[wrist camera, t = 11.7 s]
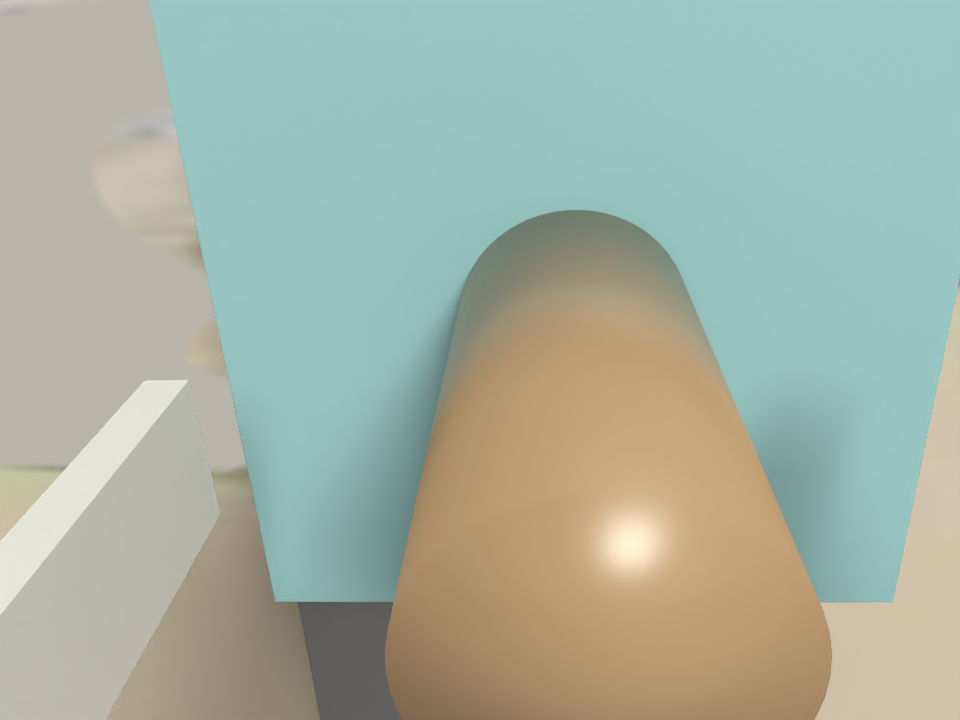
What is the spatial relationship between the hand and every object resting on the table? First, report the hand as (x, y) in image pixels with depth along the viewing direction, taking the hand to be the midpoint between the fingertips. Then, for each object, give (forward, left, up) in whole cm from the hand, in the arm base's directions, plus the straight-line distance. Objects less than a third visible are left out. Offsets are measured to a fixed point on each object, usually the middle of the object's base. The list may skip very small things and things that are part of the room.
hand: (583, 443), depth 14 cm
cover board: (0, 0, -6) cm, 6 cm away
